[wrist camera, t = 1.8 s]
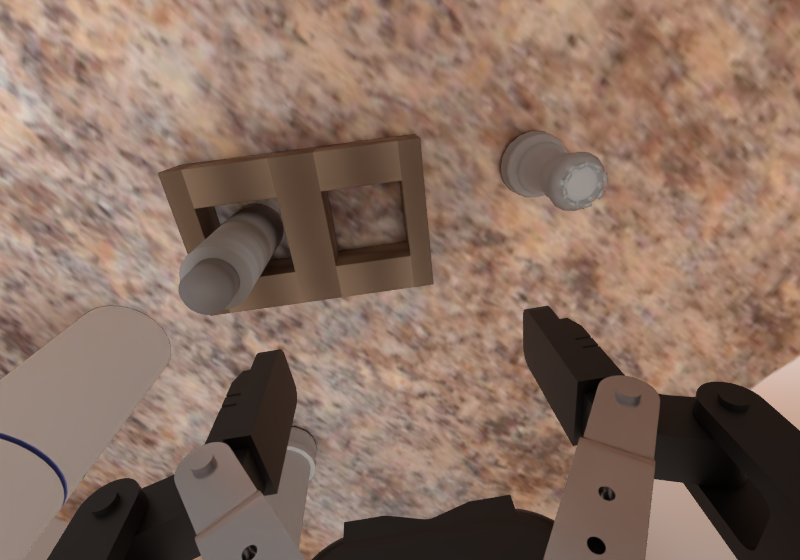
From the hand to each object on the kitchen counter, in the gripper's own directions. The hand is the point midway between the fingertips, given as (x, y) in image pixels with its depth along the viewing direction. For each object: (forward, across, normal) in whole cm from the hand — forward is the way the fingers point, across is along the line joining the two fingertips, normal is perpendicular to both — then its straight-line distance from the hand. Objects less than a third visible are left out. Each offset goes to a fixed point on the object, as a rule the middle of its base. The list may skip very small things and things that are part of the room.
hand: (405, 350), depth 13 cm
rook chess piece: (+18, -11, -1) cm, 21 cm away
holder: (+18, +5, 0) cm, 18 cm away
